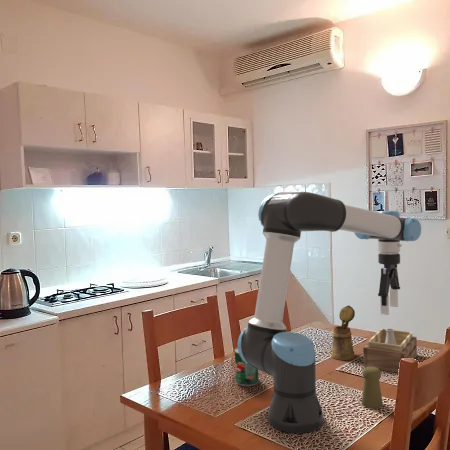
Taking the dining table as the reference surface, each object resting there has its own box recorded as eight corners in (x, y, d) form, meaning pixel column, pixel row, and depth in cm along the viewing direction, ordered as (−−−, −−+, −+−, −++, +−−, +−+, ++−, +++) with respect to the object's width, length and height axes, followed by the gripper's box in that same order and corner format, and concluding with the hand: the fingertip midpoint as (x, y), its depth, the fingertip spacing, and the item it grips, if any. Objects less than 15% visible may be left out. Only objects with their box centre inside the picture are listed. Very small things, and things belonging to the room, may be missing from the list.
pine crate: (401, 368, 161) (401, 346, 161) (368, 363, 167) (367, 341, 167) (412, 353, 176) (412, 332, 176) (381, 348, 183) (381, 328, 182)
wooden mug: (361, 351, 184) (360, 306, 183) (350, 361, 172) (349, 314, 171) (339, 347, 189) (338, 304, 187) (327, 358, 177) (326, 311, 176)
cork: (380, 410, 133) (379, 373, 132) (359, 406, 136) (358, 369, 136) (385, 402, 138) (384, 366, 138) (364, 398, 141) (364, 363, 141)
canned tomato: (263, 380, 158) (262, 348, 158) (248, 388, 152) (247, 355, 152) (245, 375, 164) (244, 344, 163) (230, 382, 158) (229, 350, 157)
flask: (381, 358, 169) (380, 331, 169) (379, 352, 176) (379, 326, 176) (402, 359, 168) (402, 332, 167) (399, 353, 175) (399, 326, 174)
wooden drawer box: (404, 373, 159) (404, 353, 159) (363, 366, 167) (363, 347, 167) (416, 354, 177) (416, 336, 176) (379, 349, 185) (379, 332, 184)
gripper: (391, 257, 157) (391, 319, 158) (407, 249, 178) (407, 304, 179) (369, 256, 161) (369, 316, 162) (387, 249, 182) (387, 302, 183)
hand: (389, 310), depth 171 cm, fingers open, 13 cm apart
